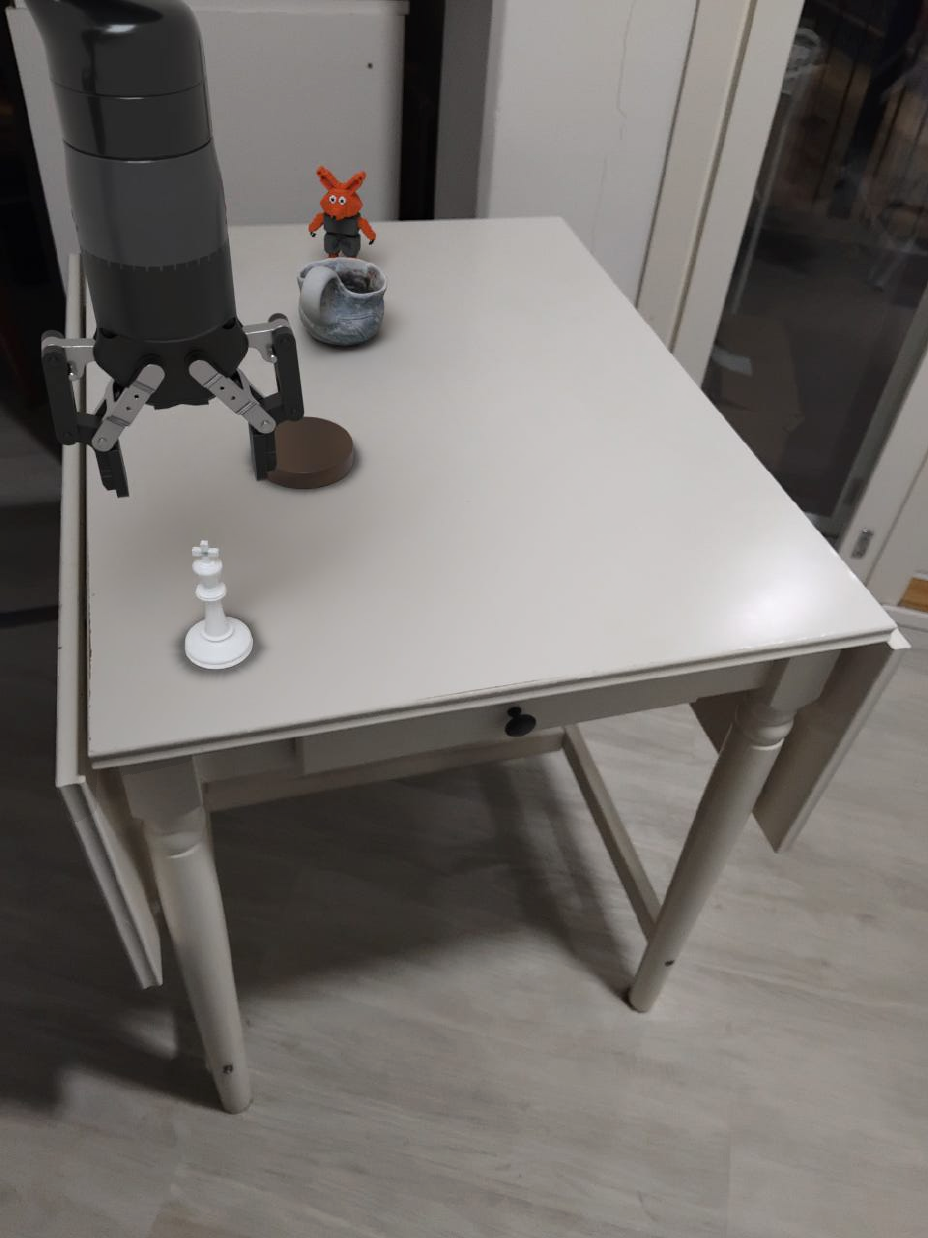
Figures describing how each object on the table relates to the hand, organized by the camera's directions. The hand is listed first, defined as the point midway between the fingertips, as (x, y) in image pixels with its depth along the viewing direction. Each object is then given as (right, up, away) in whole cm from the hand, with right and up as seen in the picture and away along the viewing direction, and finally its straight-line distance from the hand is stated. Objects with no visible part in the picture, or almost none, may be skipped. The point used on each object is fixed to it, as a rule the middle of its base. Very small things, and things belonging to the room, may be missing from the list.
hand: (193, 481), depth 60 cm
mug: (+4, +21, +43) cm, 48 cm away
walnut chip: (+2, +6, +28) cm, 28 cm away
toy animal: (+2, +33, +55) cm, 64 cm away
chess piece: (-1, -11, +10) cm, 15 cm away
